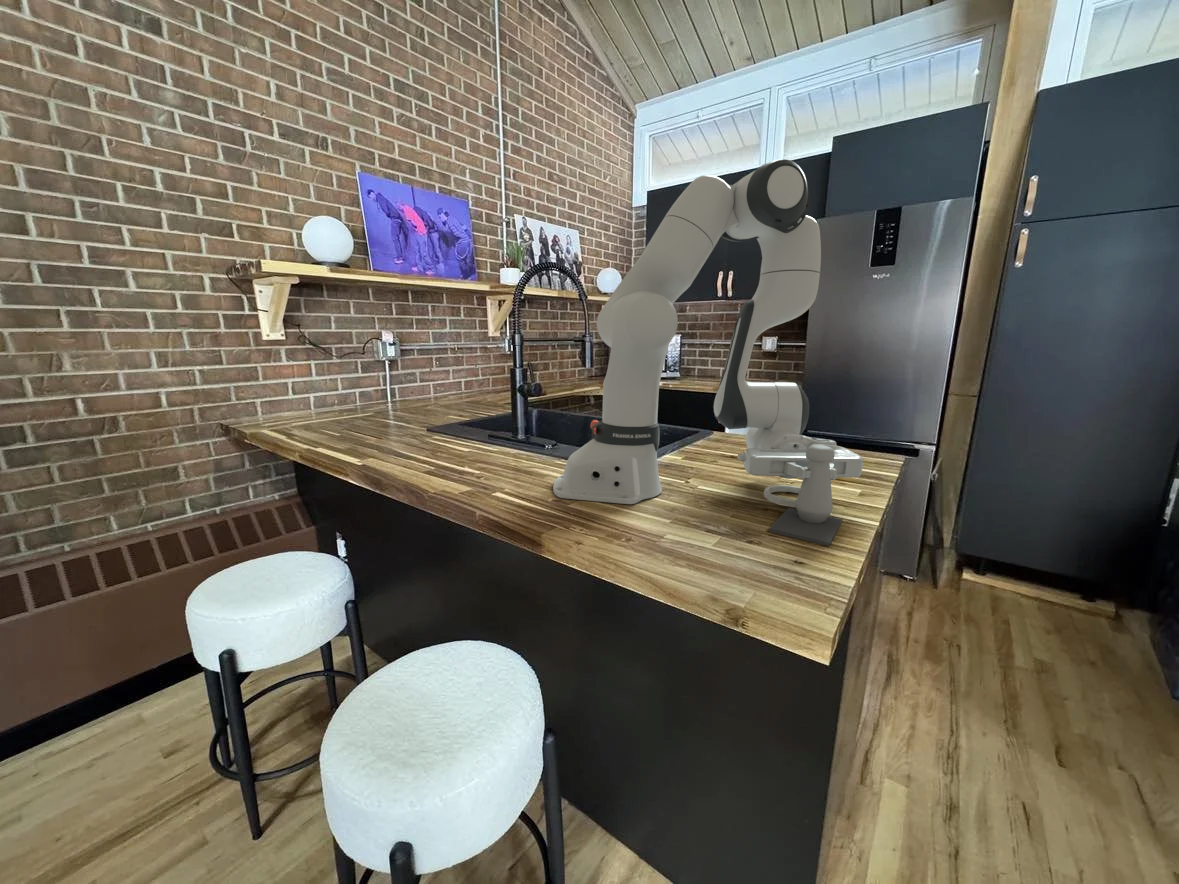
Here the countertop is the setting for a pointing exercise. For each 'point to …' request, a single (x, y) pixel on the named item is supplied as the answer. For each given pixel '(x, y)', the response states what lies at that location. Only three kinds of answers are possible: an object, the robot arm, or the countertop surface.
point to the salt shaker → (816, 486)
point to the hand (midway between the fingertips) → (819, 475)
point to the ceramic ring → (778, 499)
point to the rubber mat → (806, 528)
